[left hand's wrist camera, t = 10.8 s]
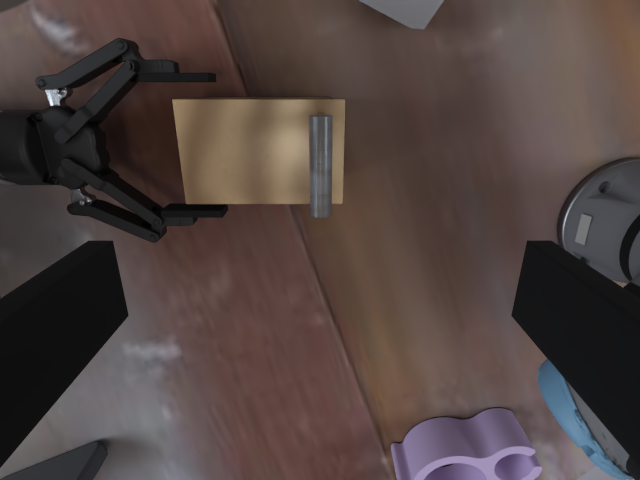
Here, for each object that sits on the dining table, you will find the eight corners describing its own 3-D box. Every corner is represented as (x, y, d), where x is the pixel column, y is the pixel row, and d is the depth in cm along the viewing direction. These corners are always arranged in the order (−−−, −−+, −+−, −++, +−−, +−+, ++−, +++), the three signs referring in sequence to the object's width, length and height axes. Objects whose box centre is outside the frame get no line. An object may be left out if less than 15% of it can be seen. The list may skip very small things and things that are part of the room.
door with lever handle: (344, 98, 36) (351, 101, 28) (342, 200, 39) (348, 229, 31) (176, 98, 36) (134, 101, 28) (189, 201, 39) (156, 230, 31)
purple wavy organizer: (504, 392, 59) (527, 429, 53) (526, 446, 63) (549, 487, 57) (384, 435, 63) (391, 475, 56) (411, 484, 67) (421, 526, 60)
